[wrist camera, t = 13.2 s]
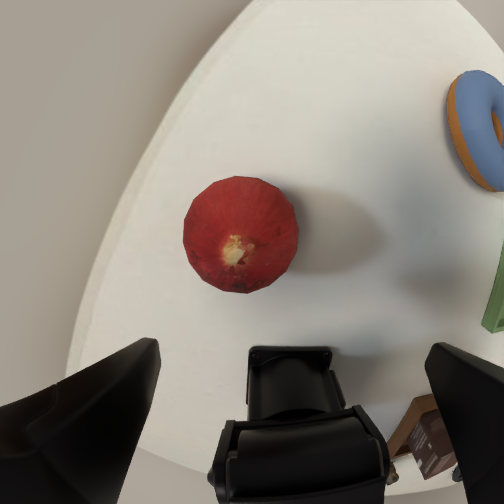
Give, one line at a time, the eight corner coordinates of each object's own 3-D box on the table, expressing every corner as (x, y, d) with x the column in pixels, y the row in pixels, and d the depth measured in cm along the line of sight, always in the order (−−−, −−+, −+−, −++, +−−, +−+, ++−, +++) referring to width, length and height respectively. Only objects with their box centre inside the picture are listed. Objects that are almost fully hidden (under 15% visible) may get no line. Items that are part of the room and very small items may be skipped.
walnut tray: (383, 448, 25) (387, 460, 23) (414, 397, 22) (421, 410, 20) (439, 432, 25) (445, 441, 23) (472, 381, 22) (480, 390, 20)
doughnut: (490, 83, 13) (521, 75, 9) (510, 184, 16) (543, 190, 11) (419, 71, 14) (452, 54, 10) (446, 196, 17) (485, 204, 12)
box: (417, 414, 22) (441, 458, 15) (455, 397, 22) (482, 435, 15) (405, 441, 24) (423, 481, 17) (441, 425, 24) (462, 461, 16)
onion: (282, 269, 18) (301, 335, 11) (197, 261, 18) (159, 320, 10) (293, 181, 17) (326, 187, 9) (202, 173, 17) (159, 172, 9)
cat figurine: (388, 468, 26) (391, 487, 22) (347, 461, 27) (348, 482, 23) (400, 458, 26) (404, 477, 22) (359, 451, 26) (361, 473, 23)
